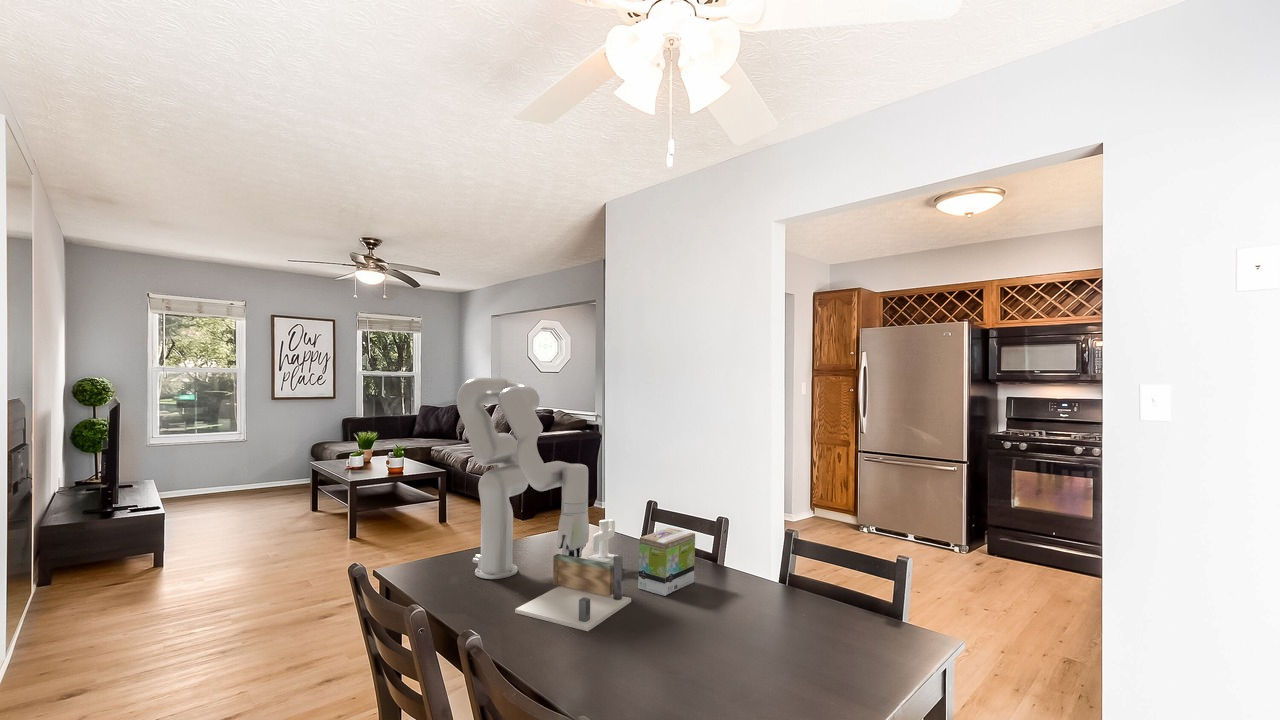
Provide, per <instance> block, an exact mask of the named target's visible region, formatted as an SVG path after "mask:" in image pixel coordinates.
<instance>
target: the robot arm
mask: <svg viewBox="0 0 1280 720" xmlns="http://www.w3.org/2000/svg"><path fill="white" fill-rule="evenodd" d="M485 405H498V406H499V408H500V410H501V412H502V413H503V415H504V417H505V419H506V420H507V423H508V425H509V427H510V429H511V430H512V433H513V434H514V436H513V435H511V433H507V432H499V433H498V432H497V430H496V428H495V425H494V421H493V418H492V417H491V415H490V414H489V412H488V411H487V410H486V408H485V407H484V406H485ZM539 407H540V395H539V393H538V392H537V390H536V389H534V387H532V386H529V385H526V384H523V383H520V382H516V381H514V380H513V381H512V380H510V379H507V378H503V377H474V378H471V379H468V380H466V381H465V382H464V383H462V385H461V386H460V387H459V389H458V392H457V394H456V408H457V410H458V413H459V416H460V418H461V420H462V423H463V426H464V428H465V431H466V436H467V438H468V443H469V445H470V448H471V453H472V455H473V457H474V460H475V462H476V463H477V464H478V465H479V466H483V467H489V466H495V465H497V466H498V467H496V468H492V469H490V470H487V471H486V472H484V473H483V474H482V475H481V476H480V478H479V480H478V481H479V482H478V484H477V485H478V489H477V490H478V494H479V495H478V496H479V500H480V554H479V553H478V554H475V555H474V557H473V558H472V563H475V564H477V567H476V568H475V571H474V575H475V576H476V577H478V578H480V579H484V580H486V579H487V580H500V579H504V578H505V579H506V578H510V577H511V576H514V575H516V574H517V572H518V566H517V565H516V564H513V559H514V558H513V557H514V556H513V554H514V553H513V552H514V551H513V550H514V549H513V548H514V547H513V545H514V543H513V542H514V512H513V507H512V504H511V501H510V497H514V496H518V495H520V494H522V493H523V492H525V491H526V490H527V488H528V486H529V485H530V487H532V488H533V490H536V491H538V492H544V491H548V490H551V489H555V488H559V487H561V513H560V515H559V521H558V530H557V544H556V545H557V548H558V549H560V550H561V549H562V550H561V555H566V556H572V557H577V558H582V555H583V554H582V553H583V549H584V548H586V546H587V544H588V543H589V542H590V541H589V539H590V522H589V468H588V466H587V465H585V464H582V463H569V462H565V461H561V460H555V461H550V462H546V463H544V460H543V459H542V457H541V456H540V453H539V450H538V445H537V443H538V438H539V436H540V434H542V432H543V429H544V426H543V424H542V422H541V421H540V418H539V416H538V415H537V413H536V412H535V411H536V410H537V409H538V408H539Z"/></svg>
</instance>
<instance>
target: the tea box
mask: <svg viewBox="0 0 1280 720" xmlns="http://www.w3.org/2000/svg"><path fill="white" fill-rule="evenodd" d="M638 551H639V552H638V553H639V554H638V575H637V576H638V579H637V581H638V582H637V588H638V589H640V590H643V591H646V592H649V593H653V594H656V595H660V596H665V597H666V596H667V595H669V594H671V593H674V592H675V591H677V590H679V589H682V588H684V587H686V586H689V585H691V584H693V583H694V582H695V561H696V560H695V558H696V555H695V554H696V552H695V551H696V533H694V532H690V531H686V530H685V531H684V530H682V529H681V530H680V529H677V528H671V527H668V528H665V529H661V530H658V531H655V532H652V533H648V534H645V535H642V536H640V537H639V549H638Z"/></svg>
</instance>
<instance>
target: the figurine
mask: <svg viewBox="0 0 1280 720" xmlns="http://www.w3.org/2000/svg"><path fill="white" fill-rule="evenodd" d="M598 525H599V527H598V528H599V531H598V532H596V533H594V534H593V536H592V551H593V552H596V553H595V554H592V555H590V556H587V559H588V560H594V561H599V562H605V563H610V564H613V563H614V556H620V555H619V554H613V553H609V539H612V538H613V537H614V536H615V532H616V530H615V529H616V521H615V519H601V520H599V521H598Z"/></svg>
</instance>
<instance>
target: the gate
mask: <svg viewBox="0 0 1280 720" xmlns="http://www.w3.org/2000/svg"><path fill="white" fill-rule="evenodd" d="M552 562H553V569H552V572H553V573H552V584H553V585H554V586H560V585H561V586H565V587H570V588H575V589H579V590H584V591H588V592H593V593H598V594H602V595H607V596H611V595H612V594H613V564H610V563H605V562H599V561H594V560H589V559H588V558H582V557H579V558H577V557H572V556H566V555H562V553H561V554H560V553H556V554H554V555H553V560H552Z"/></svg>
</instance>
